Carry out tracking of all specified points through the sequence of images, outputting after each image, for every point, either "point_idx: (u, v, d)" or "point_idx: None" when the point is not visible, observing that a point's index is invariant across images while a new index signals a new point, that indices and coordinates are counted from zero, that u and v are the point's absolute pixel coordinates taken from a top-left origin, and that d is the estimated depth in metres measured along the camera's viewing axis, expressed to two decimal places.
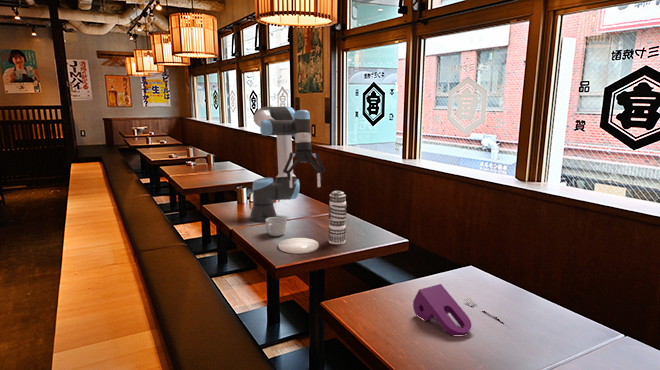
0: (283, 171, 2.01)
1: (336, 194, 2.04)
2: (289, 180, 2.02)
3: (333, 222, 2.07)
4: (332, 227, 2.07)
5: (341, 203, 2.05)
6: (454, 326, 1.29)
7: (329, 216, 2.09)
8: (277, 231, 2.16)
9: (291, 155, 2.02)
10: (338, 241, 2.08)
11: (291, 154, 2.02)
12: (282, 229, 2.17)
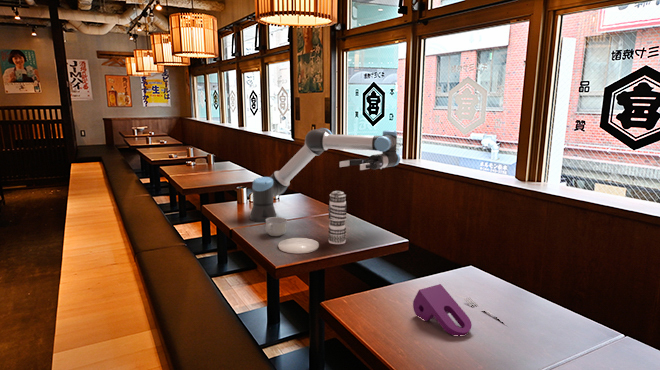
0: (376, 166, 2.09)
1: (336, 194, 2.04)
2: (366, 166, 2.08)
3: (333, 222, 2.07)
4: (332, 227, 2.07)
5: (341, 203, 2.05)
6: (454, 326, 1.29)
7: (329, 216, 2.09)
8: (277, 231, 2.16)
9: None
10: (338, 241, 2.08)
11: None
12: (282, 229, 2.17)
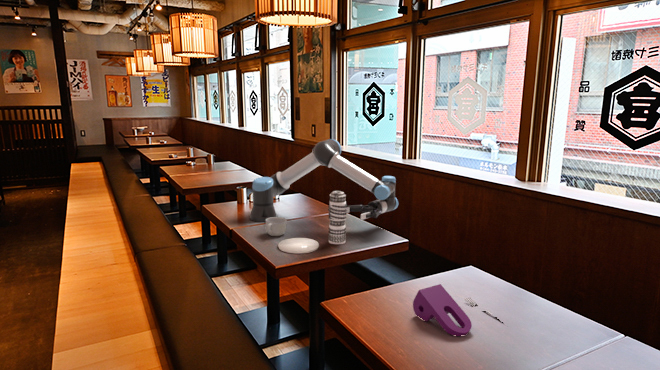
0: (376, 215, 2.15)
1: (336, 194, 2.04)
2: (366, 215, 2.14)
3: (333, 222, 2.07)
4: (332, 227, 2.07)
5: (341, 203, 2.05)
6: (454, 326, 1.28)
7: (329, 216, 2.09)
8: (277, 231, 2.16)
9: None
10: (338, 241, 2.08)
11: None
12: (282, 229, 2.17)
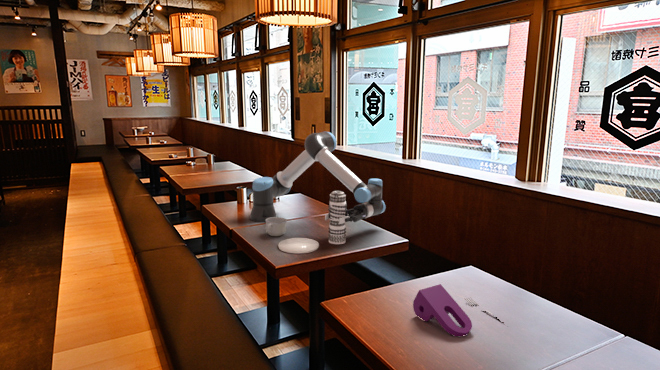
0: (354, 219, 2.07)
1: (336, 194, 2.04)
2: (345, 219, 2.06)
3: (333, 222, 2.07)
4: (332, 227, 2.07)
5: (341, 203, 2.05)
6: (455, 326, 1.28)
7: (329, 216, 2.09)
8: (277, 231, 2.16)
9: None
10: (338, 241, 2.08)
11: None
12: (282, 229, 2.17)
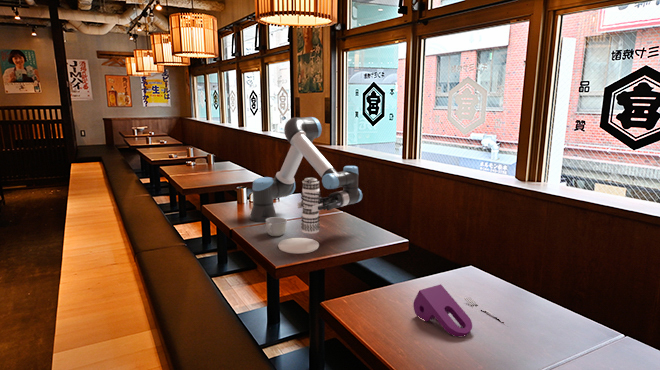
0: (328, 207, 1.99)
1: (309, 181, 1.96)
2: (318, 207, 1.98)
3: (306, 210, 1.98)
4: (305, 215, 1.99)
5: (314, 190, 1.96)
6: (455, 326, 1.28)
7: (302, 204, 2.01)
8: (277, 231, 2.16)
9: None
10: (311, 230, 1.99)
11: None
12: (282, 229, 2.17)
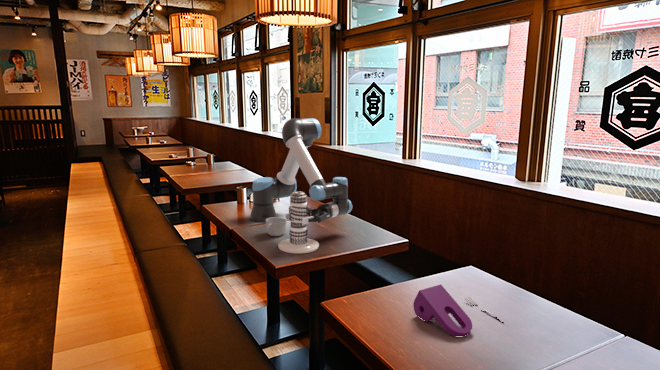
0: (319, 220, 1.98)
1: (296, 195, 1.96)
2: (308, 220, 1.97)
3: (293, 224, 1.99)
4: (293, 229, 1.99)
5: (301, 204, 1.96)
6: (455, 326, 1.28)
7: (290, 218, 2.01)
8: (277, 231, 2.16)
9: None
10: (299, 244, 1.99)
11: None
12: (282, 229, 2.17)
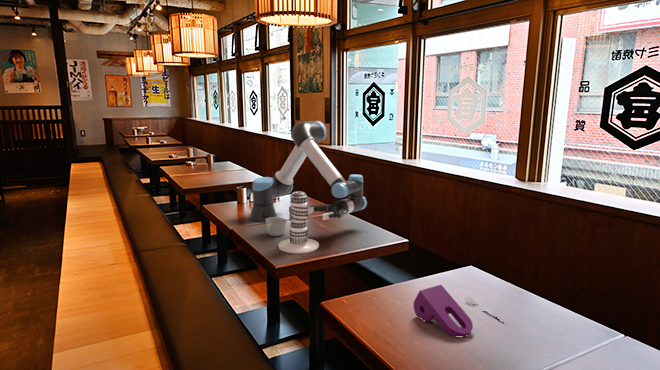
0: (339, 215, 2.06)
1: (296, 195, 1.96)
2: (329, 215, 2.05)
3: (294, 224, 1.99)
4: (293, 229, 1.99)
5: (302, 204, 1.97)
6: (456, 327, 1.28)
7: (290, 218, 2.01)
8: (277, 231, 2.16)
9: None
10: (299, 244, 1.99)
11: None
12: (282, 229, 2.17)
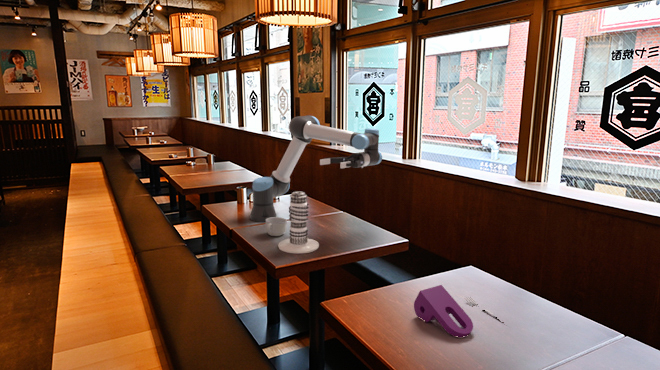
0: (356, 164, 2.06)
1: (296, 195, 1.96)
2: (346, 164, 2.05)
3: (294, 224, 1.99)
4: (293, 229, 1.99)
5: (301, 204, 1.96)
6: (456, 327, 1.28)
7: (290, 218, 2.01)
8: (277, 231, 2.16)
9: (360, 164, 2.14)
10: (299, 244, 1.99)
11: (361, 164, 2.15)
12: (282, 229, 2.17)
